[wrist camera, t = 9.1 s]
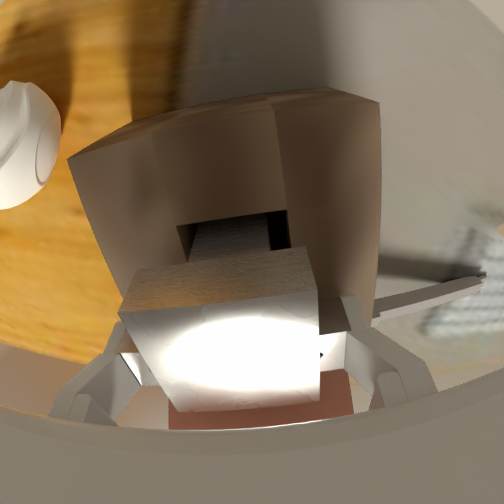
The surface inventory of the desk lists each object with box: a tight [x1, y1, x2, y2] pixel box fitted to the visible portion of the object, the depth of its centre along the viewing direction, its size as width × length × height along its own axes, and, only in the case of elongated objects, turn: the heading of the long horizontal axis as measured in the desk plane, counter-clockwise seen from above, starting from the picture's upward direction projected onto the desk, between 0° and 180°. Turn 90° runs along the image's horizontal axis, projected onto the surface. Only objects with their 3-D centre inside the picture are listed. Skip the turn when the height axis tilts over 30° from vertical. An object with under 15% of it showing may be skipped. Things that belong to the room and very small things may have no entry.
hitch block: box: [67, 88, 382, 328], centre depth 16 cm, size 12×12×10 cm
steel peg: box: [118, 212, 320, 412], centre depth 13 cm, size 5×5×9 cm
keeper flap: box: [169, 368, 354, 430], centre depth 11 cm, size 9×8×1 cm
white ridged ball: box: [0, 80, 61, 210], centre depth 14 cm, size 8×8×8 cm
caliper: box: [371, 275, 487, 327], centre depth 22 cm, size 20×1×6 cm, turn 92°
